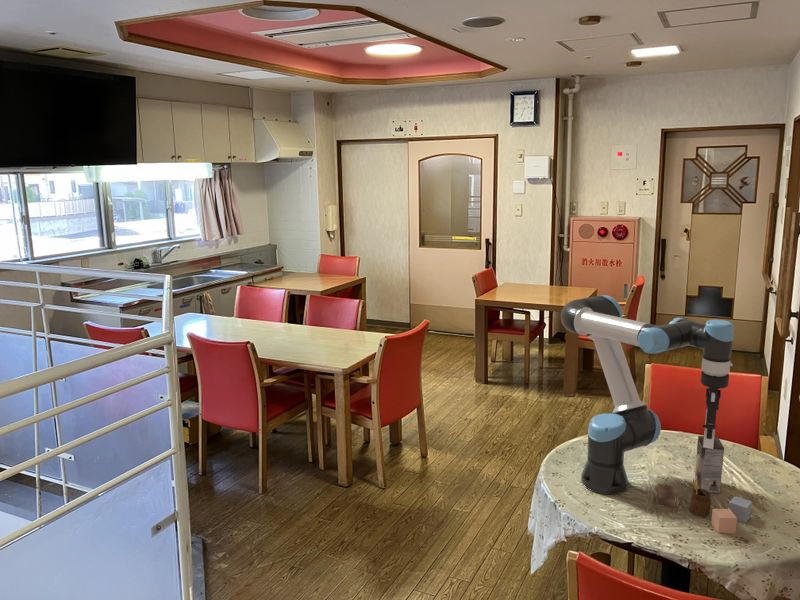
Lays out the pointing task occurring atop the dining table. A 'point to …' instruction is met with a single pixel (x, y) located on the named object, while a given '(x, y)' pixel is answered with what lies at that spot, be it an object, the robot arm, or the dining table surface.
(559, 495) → the dining table surface
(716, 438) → the coffee box
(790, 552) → the dining table surface
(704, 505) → the utensil holder
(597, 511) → the dining table surface
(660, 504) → the walnut block
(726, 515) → the terracotta block
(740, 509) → the slate block
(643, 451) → the dining table surface
